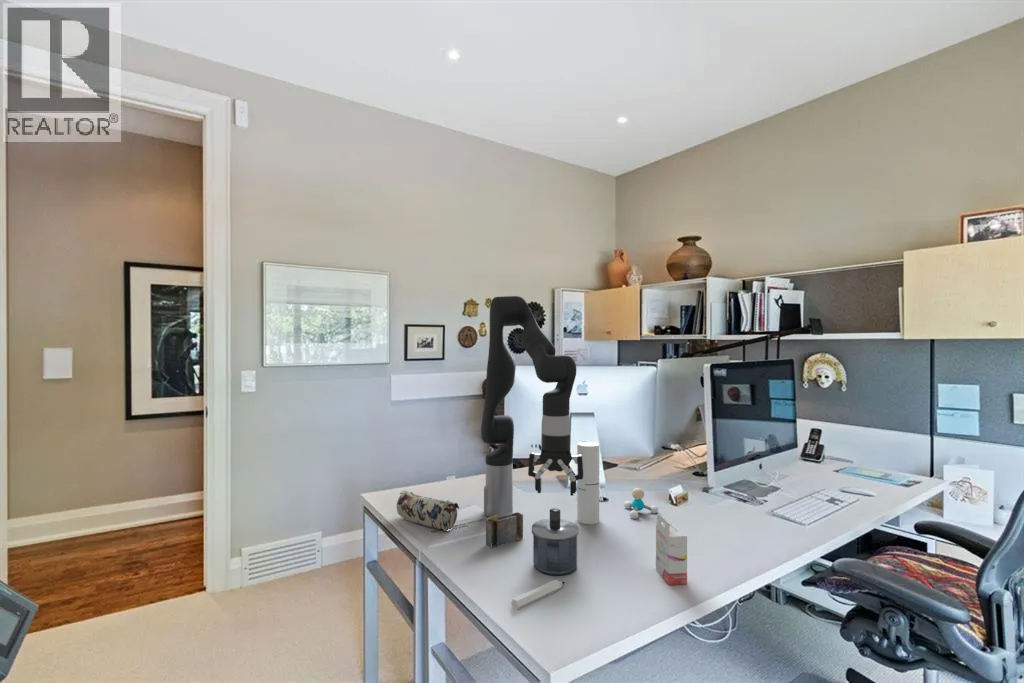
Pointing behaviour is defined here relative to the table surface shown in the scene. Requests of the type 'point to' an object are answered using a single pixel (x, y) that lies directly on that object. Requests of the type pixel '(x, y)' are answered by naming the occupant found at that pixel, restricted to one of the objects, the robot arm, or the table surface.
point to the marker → (536, 594)
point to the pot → (555, 556)
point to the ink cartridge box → (671, 552)
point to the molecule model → (638, 503)
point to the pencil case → (427, 510)
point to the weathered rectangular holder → (504, 529)
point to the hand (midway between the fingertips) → (555, 493)
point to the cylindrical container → (588, 484)
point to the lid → (555, 528)
